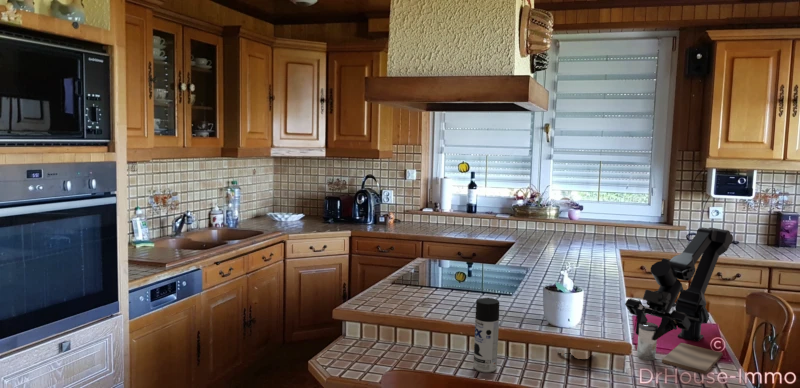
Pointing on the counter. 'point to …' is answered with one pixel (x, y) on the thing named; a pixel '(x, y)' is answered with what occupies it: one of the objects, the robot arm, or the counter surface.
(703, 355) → the tan wooden panel
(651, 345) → the metal tin
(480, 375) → the counter surface
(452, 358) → the counter surface
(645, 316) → the robot arm
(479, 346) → the spray can
